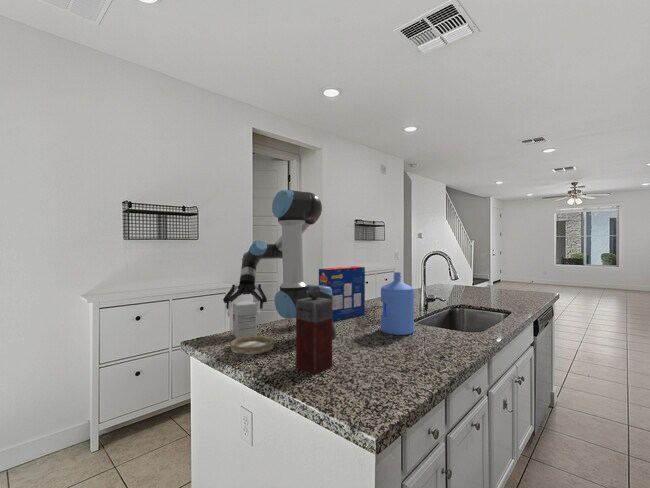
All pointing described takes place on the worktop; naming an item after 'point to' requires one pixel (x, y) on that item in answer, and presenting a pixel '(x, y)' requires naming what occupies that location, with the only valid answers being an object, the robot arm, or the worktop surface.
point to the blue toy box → (345, 291)
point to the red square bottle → (314, 332)
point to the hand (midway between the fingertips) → (243, 314)
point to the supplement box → (244, 319)
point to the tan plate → (252, 344)
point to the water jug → (397, 307)
